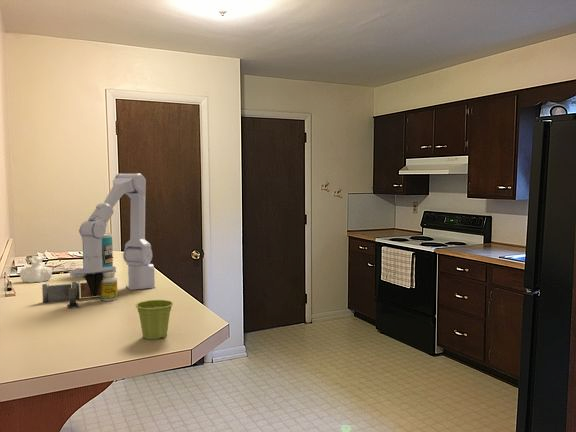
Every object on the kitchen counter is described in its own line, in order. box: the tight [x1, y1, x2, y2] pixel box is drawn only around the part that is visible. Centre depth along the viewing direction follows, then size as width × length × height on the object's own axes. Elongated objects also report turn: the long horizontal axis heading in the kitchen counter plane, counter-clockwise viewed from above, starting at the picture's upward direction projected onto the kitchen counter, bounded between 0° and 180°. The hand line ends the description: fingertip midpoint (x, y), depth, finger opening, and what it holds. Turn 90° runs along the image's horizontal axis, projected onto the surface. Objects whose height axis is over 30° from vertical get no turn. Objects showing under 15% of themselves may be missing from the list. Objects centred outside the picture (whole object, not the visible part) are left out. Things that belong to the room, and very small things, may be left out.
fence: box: [41, 280, 81, 304], centre depth 164 cm, size 12×2×6 cm, turn 119°
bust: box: [19, 255, 53, 284], centre depth 197 cm, size 12×8×11 cm
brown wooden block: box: [79, 281, 101, 299], centre depth 169 cm, size 12×2×6 cm, turn 119°
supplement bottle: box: [100, 271, 119, 302], centre depth 165 cm, size 5×5×10 cm
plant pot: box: [135, 299, 174, 340], centre depth 125 cm, size 9×9×9 cm
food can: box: [82, 232, 114, 269], centre depth 209 cm, size 12×12×18 cm
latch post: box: [66, 288, 80, 310], centre depth 155 cm, size 3×3×6 cm
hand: (94, 295), depth 163 cm, fingers closed
